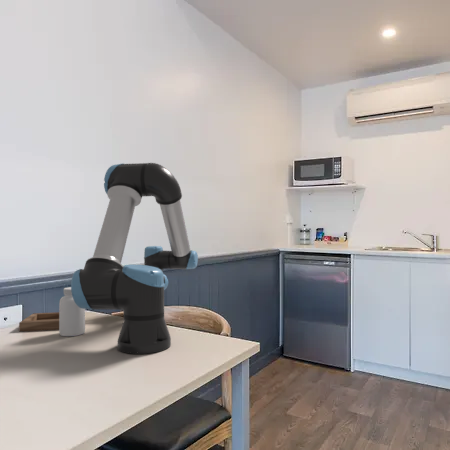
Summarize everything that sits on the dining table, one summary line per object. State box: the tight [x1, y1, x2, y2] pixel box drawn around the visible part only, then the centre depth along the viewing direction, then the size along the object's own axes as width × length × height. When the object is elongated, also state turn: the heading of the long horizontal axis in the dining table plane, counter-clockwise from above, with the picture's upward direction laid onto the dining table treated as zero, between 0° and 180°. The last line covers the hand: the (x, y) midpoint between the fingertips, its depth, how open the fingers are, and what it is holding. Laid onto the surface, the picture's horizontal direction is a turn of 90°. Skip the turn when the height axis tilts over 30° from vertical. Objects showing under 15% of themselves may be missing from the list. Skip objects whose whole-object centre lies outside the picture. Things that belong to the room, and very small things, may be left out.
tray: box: [18, 311, 59, 333], centre depth 145 cm, size 15×15×3 cm
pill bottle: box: [58, 286, 86, 337], centre depth 132 cm, size 8×8×15 cm
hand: (95, 296), depth 141 cm, fingers open, 13 cm apart
